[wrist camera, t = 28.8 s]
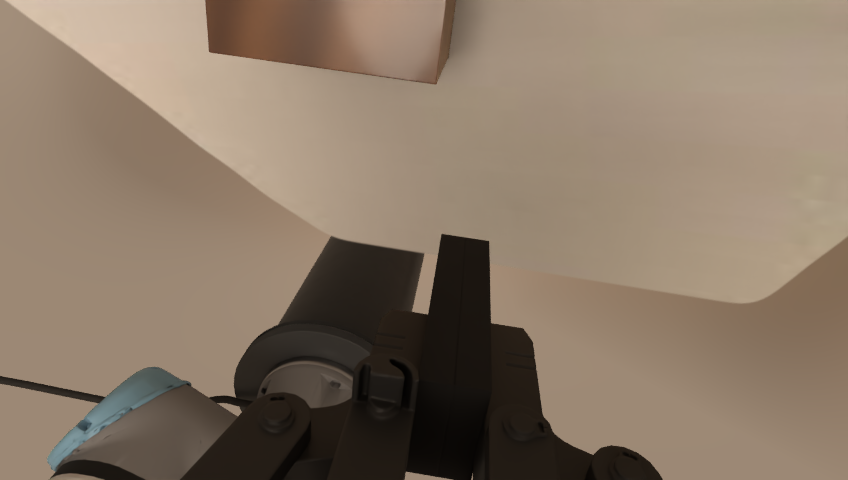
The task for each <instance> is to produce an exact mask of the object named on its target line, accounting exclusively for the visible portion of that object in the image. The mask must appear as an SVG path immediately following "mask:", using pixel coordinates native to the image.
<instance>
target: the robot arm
mask: <svg viewBox="0 0 848 480" xmlns="http://www.w3.org/2000/svg"><path fill="white" fill-rule="evenodd" d="M490 315H491V311H490V259H489V241H485V240H478V239H472V238H465V237H458V236H452V235H445V234H442V235H441V241H440V247H439V253H438V259H437V265H436V271H435V277H434V283H433V289H432V295H431V301H430V307H429V313H428V315H427V314H420V313H414V312H408V311H402V310H396V309H391V310H390V311H389V312H388V313H387V314H386V315H385V316H384V317H383V318H382V319H381V320H380V324H379V327H378V330H377V335H376V337H375V340H374V344H373V347H372V350H371V353H370V356H367V357H366V358H364V359H363V360H361V361H360V362H358V364H357V365H356V367H355V369H354V371H352V370H350V369H349V368H347V367H345V366H344V365H342V364H340V363H337V362H335V361H332V360H329V359H325V358H321V357H313V356H301V357H294V358H290V359H287V360H284V361H282V362H280V363H278V364H277V365H275V366H274V367H273V368H272V369H271V370H270V371H269V372H268V374H267V375H266V377H265V379H264V380H263V382H262V384H261V386H260V389H259V392H258V396H257V399H256V400H255V401H250V400H244V399H239V398H235V397H231V396H214V397H210V398H208V397H207V396H205V395H204V394H202V393H200V392H199V391H197V390H196V389H194V388H193V387H191V383H190V382H188V381H182V380H180V379H179V378H177V377H175V376H174V375H172V374H170V373H169V372H167V371H165V370H163V369H162V368H158V367H148V368H145V369H142V370H140V371H138V372H136V373H135V374H133V375H132V376H131V377H130V378H128V379H127V380H125V381H124V382H123V383H122V384H121V385H119V386H118V387H117V388H116V389H114V390H113V391H112V392H111V393H110V394H109V395H108V396H107V397H103V396H98V395H92V394H88V393H82V392H78V391H72V390H68V389H63V388H58V387H53V386H48V385H44V384H38V383H34V382H29V381H23V380H17V379H13V378H7V377H2V376H0V384H6V385H11V386H16V387H21V388H26V389H31V390H36V391H41V392H47V393H51V394H56V395H61V396H65V397H71V398H76V399H80V400H86V401H90V402H96V403H99V404H98V405H96V406H95V407H94V408H93V409H92V410H91V411H90V412H89V413H88V414H87V415H86V416H85V418H84V420H82V421H80V422H79V423H78V424H77V425H76V426H75V427H74V428H73V429H72V430H71V431H70V432H68V433H67V434H66V436H65V437H64V438H63V439H62V440H61V441H60V442H59V443H58V444H57V445H56V446H55V447H54V449H53V450H52V451H51V453H50V454H49V456H48V458H47V460H48V463H49V465H51V469H52V470H54V471H55V474H54V475H53V476H52V477H51V478H50V480H404V479H405V473H406V472H412V473H419V474H424V475H430V476H435V477H441V478H447V479H453V480H471V478H472V473H473V480H662V478H661V476H660V474H659V473H658V472H657V470H656V469H655V468H654V467H653V466H652V464H651V463H650V462H649V461H648V460H646V459H645V458H644V457H642V456H641V455H639V454H638V453H637V452H634V451H632V450H630V449H627V448H625V447H619V446H612V445H611V446H607V447H603V448H600V449H599V450H598V451H597V452H596V453H595V454H594V455H592V454H589V453H587V452H585V451H583V450H580V449H578V448H576V447H573V446H571V445H570V444H568V443H566V442H564V441H563V440H561V439H560V438H558V437H557V436H556V435H555V434H554V433H553V431H552V429H551V426H550V424H549V422H548V421H547V420H546V419H545V418H544V417H543V414H542V408H541V400H540V393H539V386H538V378H537V371H536V363H535V359H534V356H535V355H534V348H533V342H532V340H531V339H530V338H529V336H528V335H527V333H526V332H525V331H524V329H523V328H517V327H511V326H505V325H498V324H492V323H491V316H490ZM217 403H228V404H232V405H236V406H240V407H246V409H245V410H244V411H243V412H242V413H241V414H240V415H239V416H238V417H237V416H236V415H234V414H232V413H231V412H229V411H228V410H226V409H225V408H223V407H222V406H220V405H219V404H217Z"/></svg>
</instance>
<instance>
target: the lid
mask: <svg viewBox="0 0 848 480" xmlns="http://www.w3.org/2000/svg"><path fill="white" fill-rule="evenodd" d="M205 1H206V15H207V28H208V42H209V52H211V53H218V54H225V55H232V56H239V57H246V58H253V59H260V60H267V61H274V62H282V63H289V64H296V65H303V66H310V67H317V68H324V69H331V70H338V71H345V72H352V73H359V74H366V75H373V76H380V77H387V78H394V79H401V80H409V81H416V82H423V83H430V84H436V83H437V80H438V72H439V64H440V56H441V48H442V40H443V32H444V24H445V16H446V8H447V0H205Z"/></svg>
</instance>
